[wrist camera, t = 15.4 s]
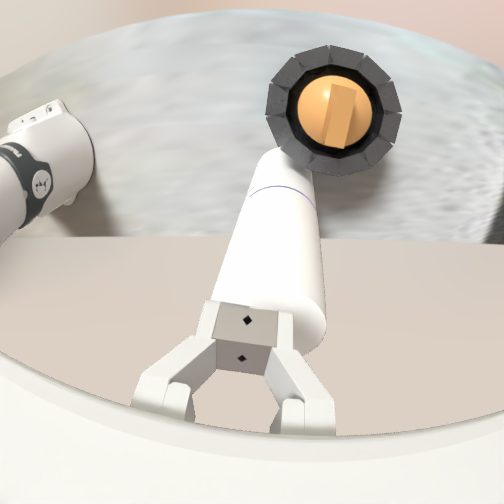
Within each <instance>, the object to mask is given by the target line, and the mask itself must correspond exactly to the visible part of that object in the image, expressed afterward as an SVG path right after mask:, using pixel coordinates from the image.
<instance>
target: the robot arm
mask: <svg viewBox="0 0 504 504" xmlns="http://www.w3.org/2000/svg"><path fill="white" fill-rule="evenodd" d="M51 108H52V110H51ZM93 162H94V158H93V149H92V145H91V141H90V139H89V136H88V134H87V132H86V130H85V129H84V127H83V126H82V125H81V123H80V122H79V121H78V120H77V119H76V118H74V117H73V116H72V115H70V114H69V113H68V111H67V110H66V108H65V106H64V104H63V103H62V101H61V100H59V99H56V100H54V101H52V102H49V103H47V104H45V105H43V106H41V107H39V108H37V109H35V110H33V111H31V112H29V113H27V114H25V115H23V116H21V117H19V118H17V119H15V120H14V121H12V122H10V123H9V126H8V131H7V136H5V137H3V138H1V139H0V246H1V245H2V244H3V243H4V242H5V241H6V240H7V239H8V238H9V237H10V236H11V235H12V234H13V233H14V232H15V231H16V230H17V229H21V228H23V227H24V226H26V225H28V224H29V223H30V222H32V221H33V220H34V219H35V217H36V216H38V217H41V218H42V217H44V216H46V215H47V214H49V213H50V212H52V211H53V210H55V209H56V208H58V207H59V206H60V205H62V204H63V205H66V206H69V205H71V204H72V203H73V202H74V200H75V198H76V195H77V193H78V192H79V191H80V190H81V189H82V188H84V187H85V185H86V184H87V183H88V181H89V179H90V177H91V174H92V171H93ZM216 369H221V370H228V371H237V372H243V373H250V374H256V375H263V376H264V378H265V380H266V382H267V384H268V386H269V388H270V390H271V392H272V394H273V395H274V397H275V399H276V401H277V403H278V405H279V407H280V409H279V411H278V413H277V414H276V416H275V418H274V420H273V422H272V424H271V426H270V432H269V433H259V432H251V431H242V430H235V429H228V428H221V427H215V426H209V425H204V424H198V423H194V421H195V411H194V406H193V400H192V394H193V393H194V392H195V391H196V390H197V389H198V388H199V387H200V386H201V385H202V384H203V383H204V382H205V381H206V380H207V379H208V378H209V377H210V376H211V375H212V374H213V373H214V372H215V370H216ZM0 504H504V410H502V411H499V412H496V413H493V414H489V415H486V416H482V417H478V418H474V419H470V420H466V421H462V422H457V423H452V424H448V425H442V426H437V427H431V428H425V429H418V430H411V431H403V432H396V433H395V432H394V433H384V434H371V435H353V436H352V435H351V436H336V428H335V406H334V399H333V398H332V397H331V395H330V394H329V393H328V391H327V390H326V389H325V387H324V386H323V384H322V383H321V382H320V380H319V379H318V377H317V376H316V375H315V373H314V372H313V371H312V369H311V368H310V366H309V365H308V364H307V362H306V361H305V360H304V358H303V357H302V355H301V354H300V353H299V351H298V350H294V349H293V312H292V311H287V310H279V309H271V308H263V307H255V306H245V305H239V304H234V303H228V302H222V301H215V300H210V299H207V300H206V301H205V303H204V307H203V310H202V314H201V317H200V320H199V324H198V327H197V331H196V335H195V336H194V335H190V336H189V337H188V338H187V339H185V340H184V341H183V342H181V343H180V344H179V345H178V346H176V347H175V348H174V349H172V350H171V351H170V352H168V353H167V354H166V355H165V356H163V357H162V358H161V359H159V360H158V361H157V362H155V363H154V364H153V365H151V366H150V367H149V368H147V369H146V370H145V371H144V372H142V374H141V376H140V379H139V382H138V385H137V387H136V390H135V393H134V396H133V399H132V402H131V405H130V407H129V406H126V405H123V404H120V403H116V402H113V401H110V400H107V399H104V398H102V397H99V396H96V395H93V394H90V393H88V392H85V391H83V390H80V389H78V388H75V387H72V386H70V385H67V384H65V383H63V382H61V381H58V380H56V379H54V378H52V377H49V376H47V375H45V374H43V373H41V372H39V371H37V370H35V369H32V368H30V367H28V366H27V365H25V364H23V363H21V362H19V361H17V360H15V359H13V358H11V357H9V356H8V355H6V354H4V353H2V352H1V351H0Z"/></svg>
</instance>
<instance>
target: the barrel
mask: <svg viewBox="0 0 504 504" xmlns="http://www.w3.org/2000/svg"><path fill="white" fill-rule="evenodd" d="M363 55H364V53H360V52H357V51H353V50H349V49H345V48H341V47H337V46H332V45H330V46H327V45H326V46H322V47H319V48H315V49H312V50H308V51H305V52H302V53H299V54H296V55H295V58H293V57H291V58H290V59H289V60H288V62H287V63H286V64H285V65H284V66H283V67H282V68H281V70H280V71H279V72H278V73H277V74H276V75H275V77H274V78H273V79H272V80H271V81H272V82H273V83H270V84H269V92H268V99H267V107H266V114H265V115H267V117H266V120H267V122H268V124H269V127H270V129H271V131H272V134H273V136H274V138H275V141H276V143H277V145H278V147H280V146H281V148H280V150H281V151H283V152H284V153H285V154H287V155H288V156H289V157H290V158H292V159H293V160H294V161H295V162H297V163H298V164H299V165H300V166H302V167H303V168H304V169H305V168H306V167H307V168H308V171H313V172H318V173H323V174H328V175H333V176H338V174H339V172H340V175H341V176H344V175H348V174H351V173H355V172H358V171H362V170H366V169H369V164H370V165H371V166H372V167H373V166H374V165H375V164H376V163H377V162H378V161H379V160H380V159H381V158H382V157H383V156H384V155H385V154H386V153H387V152H388V151H389V150H390V149H391V148H392V147H393V146H392V145H391V143H394V144H395V140H396V136H397V133H398V129H399V125H400V121H401V117H402V114H400V113H398V112H402V110H401V106H400V103H399V99H398V96H397V93H396V89H395V86H394V83H393V81H389V80H390V79H391V78H390V77H389V76H388V75H387V74H386V73H385V72H384V71H383V70H382V69H381V68H380V67H379V66H378V65H377V64H376V63H375V62H374V61H373V60H372V59H371V58H369V57H368V56H367V55H365V56H363ZM329 75H331V76H339V77H344V78H347V79H349V80H351V81H353V82H355V83H356V84H357V85H359V86H360V87H361V88H362V89H363V90H364V92H365V93H366V95H367V96H368V98H369V101H370V104H371V108H372V118H371V123H370V126H369V128H368V130H367V132H366V133H365V134H364V135H363V137H362V138H360V139H359V140H358V141H356V142H355V143H353V144H351V145H348V146H344V149H342V148H338V147H330V146H326V145H323V144H320V143H318V142H317V141H315V140H314V139H312V138H311V137H310V136H309V135H308V134H307V133H306V132H305V130H304V129H303V127H302V125H301V123H300V120H299V116H298V99H299V96H300V94H301V92H302V90H303V89H304V87H305V86H306V85H307V84H308V83H309V82H311V81H312V80H314V79H316V78H319V77H322V76H329ZM390 142H391V143H390ZM368 163H369V164H368Z"/></svg>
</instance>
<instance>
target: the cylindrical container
mask: <svg viewBox="0 0 504 504" xmlns="http://www.w3.org/2000/svg"><path fill="white" fill-rule="evenodd" d="M211 300H215V301H222V302H228V303H234V304H239V305H245V306H255V307H263V308H271V309H279V310H287V311H292V312H293V349H294V350H298V351H299V353H300V354H301V355H302V356H303V355H305V354H307V353H309V352H311V351H312V350H313V349H315V348H316V347H317V346H318V345H319V344H320V343H321V341H322V340H323V338H324V336H325V333H326V325H327V322H326V305H325V291H324V278H323V266H322V256H321V245H320V235H319V226H318V218H317V209H316V201H315V193H314V186H313V178H312V171H308V168H307V167H306V168H305V169H304V168H303V167H302V166H300V165H299V164H298V163H297V162H295V161H294V160H293V159H292V158H290V157H289V156H288V155H287V154H285V153H284V152H283V151H281V150H280V148H275V149H272V150H270V151H268V152H267V153H265V154H264V155H263V156H262V158H261V159H260V161H259V162H258V165H257V168H256V171H255V173H254V176H253V179H252V182H251V184H250V187H249V190H248V193H247V195H246V198H245V201H244V204H243V206H242V209H241V212H240V215H239V218H238V221H237V223H236V226H235V229H234V232H233V235H232V238H231V241H230V244H229V247H228V249H227V252H226V256H225V258H224V261H223V264H222V267H221V270H220V273H219V276H218V279H217V282H216V285H215V288H214V291H213V294H212V297H211Z"/></svg>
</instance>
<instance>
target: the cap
mask: <svg viewBox="0 0 504 504" xmlns="http://www.w3.org/2000/svg"><path fill="white" fill-rule="evenodd" d="M298 116H299V120H300V123H301V125H302V127H303V129H304V130H305V132H306V133H307V134H308V135H309V136H310V137H311V138H312V139H314V140H315V141H317V142H318V143H320V144H323V145H326V146H330V147H338V148H342V149H344V146H348V145H351V144H353V143H355V142H356V141H358V140H359V139H360V138H362V137H363V135H364V134H365V133H366V132H367V130H368V128H369V126H370V123H371V118H372V108H371V104H370V101H369V98H368V96H367V95H366V93H365V92H364V90H363V89H362V88H361V87H360V86H359V85H357V84H356V83H355V82H353V81H351V80H349V79H347V78H344V77H339V76H331V75H329V76H322V77H319V78H316V79H314V80H312V81H311V82H309V83H308V84H307V85H306V86H305V87H304V89H303V90H302V92H301V94H300V96H299V99H298Z"/></svg>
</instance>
